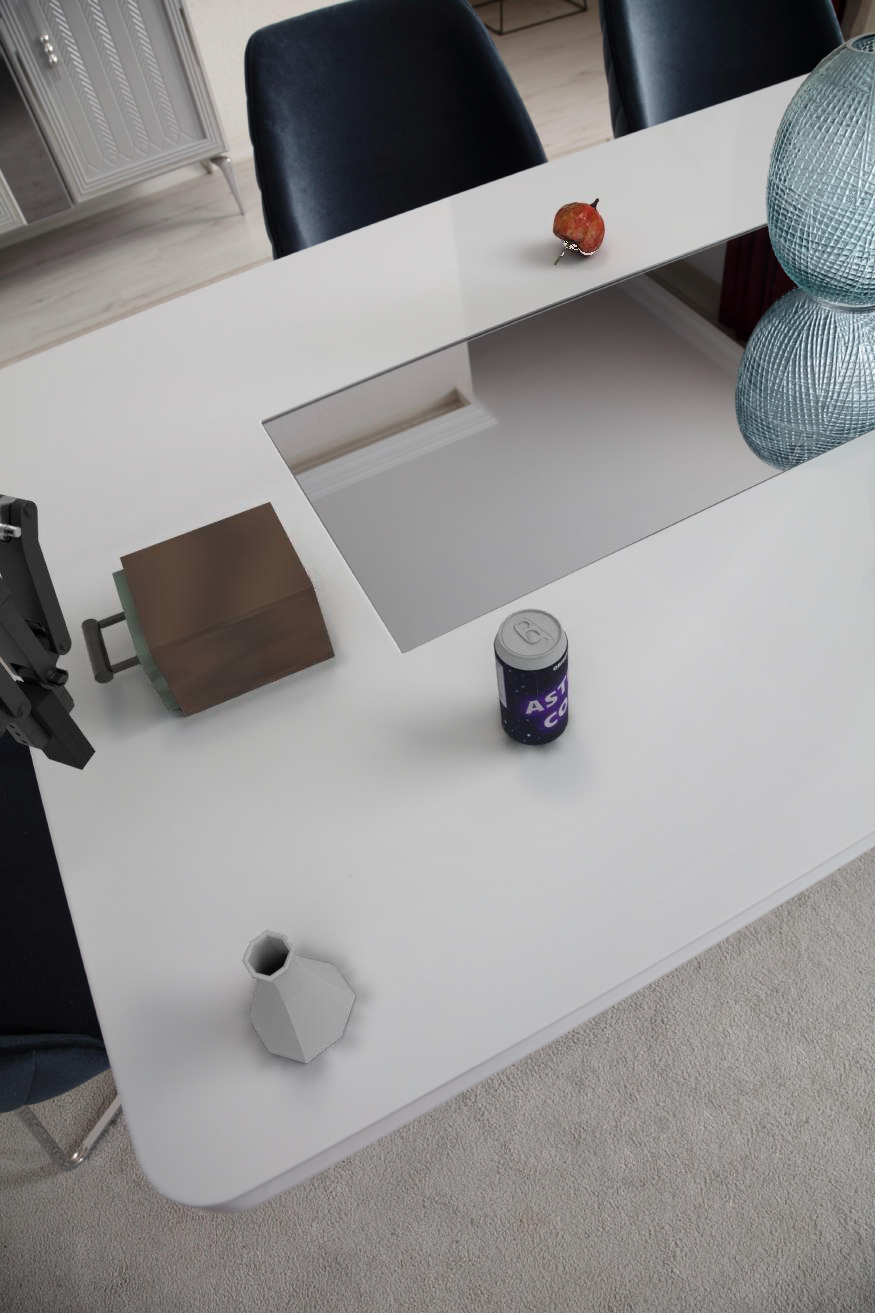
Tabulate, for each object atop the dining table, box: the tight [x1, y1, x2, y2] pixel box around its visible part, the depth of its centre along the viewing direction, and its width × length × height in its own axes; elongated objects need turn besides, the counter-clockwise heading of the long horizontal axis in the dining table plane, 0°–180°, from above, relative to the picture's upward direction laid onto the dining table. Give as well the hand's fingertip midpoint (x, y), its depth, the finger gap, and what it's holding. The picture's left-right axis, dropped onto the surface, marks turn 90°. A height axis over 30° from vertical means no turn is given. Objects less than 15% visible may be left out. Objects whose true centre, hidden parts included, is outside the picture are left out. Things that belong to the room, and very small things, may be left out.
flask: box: [241, 929, 356, 1064], centre depth 62 cm, size 7×7×10 cm
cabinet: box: [119, 501, 336, 718], centre depth 85 cm, size 15×13×10 cm
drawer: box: [80, 568, 181, 713], centre depth 85 cm, size 18×11×8 cm, turn 114°
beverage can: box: [493, 608, 569, 746], centre depth 75 cm, size 6×6×12 cm
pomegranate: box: [552, 197, 606, 266], centre depth 126 cm, size 7×7×10 cm
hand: (72, 755), depth 59 cm, fingers closed
